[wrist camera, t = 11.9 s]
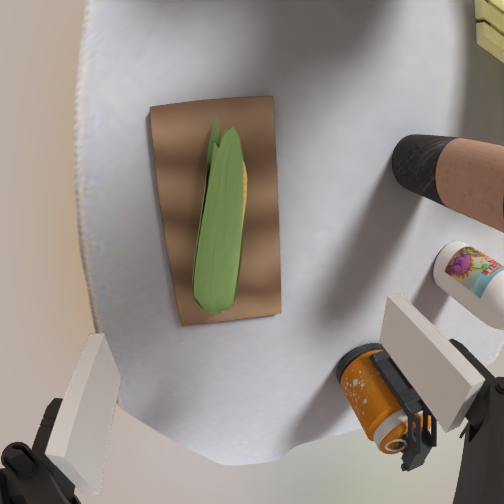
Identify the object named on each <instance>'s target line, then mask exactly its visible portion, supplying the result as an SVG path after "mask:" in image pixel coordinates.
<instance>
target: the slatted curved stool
mask: <svg viewBox="0 0 504 504" xmlns="http://www.w3.org/2000/svg"><path fill="white" fill-rule="evenodd" d="M474 4H475V18H476V19H477V20H478V23H476V43H477V44H478V45H480V46H481V47H483V48H484V49H485V50H487V51H488V52H489V53H491V54H492V55H494V56H495V57H496V58H498V59H499V60H500V61H501V62H503V63H504V0H474Z"/></svg>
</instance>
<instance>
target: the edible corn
mask: <svg viewBox="0 0 504 504" xmlns="http://www.w3.org/2000/svg"><path fill="white" fill-rule="evenodd" d="M247 179H248V177H247V172H246V167H245V163H244V153H243V151H242V149H241V144H240V137H239V135H238V134H237V132H236V130H235V129H234V127H232V128H231V129H230V130H229V131H228V130H227V128H226V129H225V130H224V132H223V133H222V135H221V139H220V143H219V132H218V118H217V115H216V117H215V120H214V123H213V128H212V132H211V137H210V142H209V146H208V157H207V170H206V180H205V187H204V194H203V201H202V209H201V216H200V224H199V230H198V237H197V244H196V251H195V258H194V267H193V277H192V282H193V296H194V298H195V300H196V301H197V303H198V304H199V306H200V307H201V308H203V309H204V310H205V311H209V312H210V314H212V315H219V314H220V313H221V311H224V310H228V309H230V308H232V307H233V304H234V301H235V298H236V294H237V289H238V283H239V277H240V269H241V260H242V249H243V235H244V214H245V206H246V199H247Z"/></svg>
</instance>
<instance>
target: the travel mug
mask: <svg viewBox="0 0 504 504" xmlns="http://www.w3.org/2000/svg"><path fill="white" fill-rule="evenodd" d="M392 166H393V172H394V175H395V177H396V179H397V181H398V182H399V183H400V184H401V185H402V186H403V187H405V188H406V189H408V190H410V191H413V192H415V193H417V194H419V195H422V196H424V197H426V198H428V199H430V200H433V201H435V202H437V203H439V204H441V205H443V206H445V207H447V208H450V209H452V210H454V211H456V212H459V213H461V214H464V215H466V216H468V217H470V218H473V219H475V220H477V221H479V222H482V223H484V224H486V225H488V226H490V227H493V228H495V229H497V230H499V231H501V232H503V233H504V146H501V145H496V144H491V143H486V142H481V141H476V140H470V139H464V138H456V137H445V136H433V135H409V136H406V137H404V138H403V139H402V140H401V141H400V142H399V143H398V144H397V146H396V148H395V150H394V153H393V158H392Z"/></svg>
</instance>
